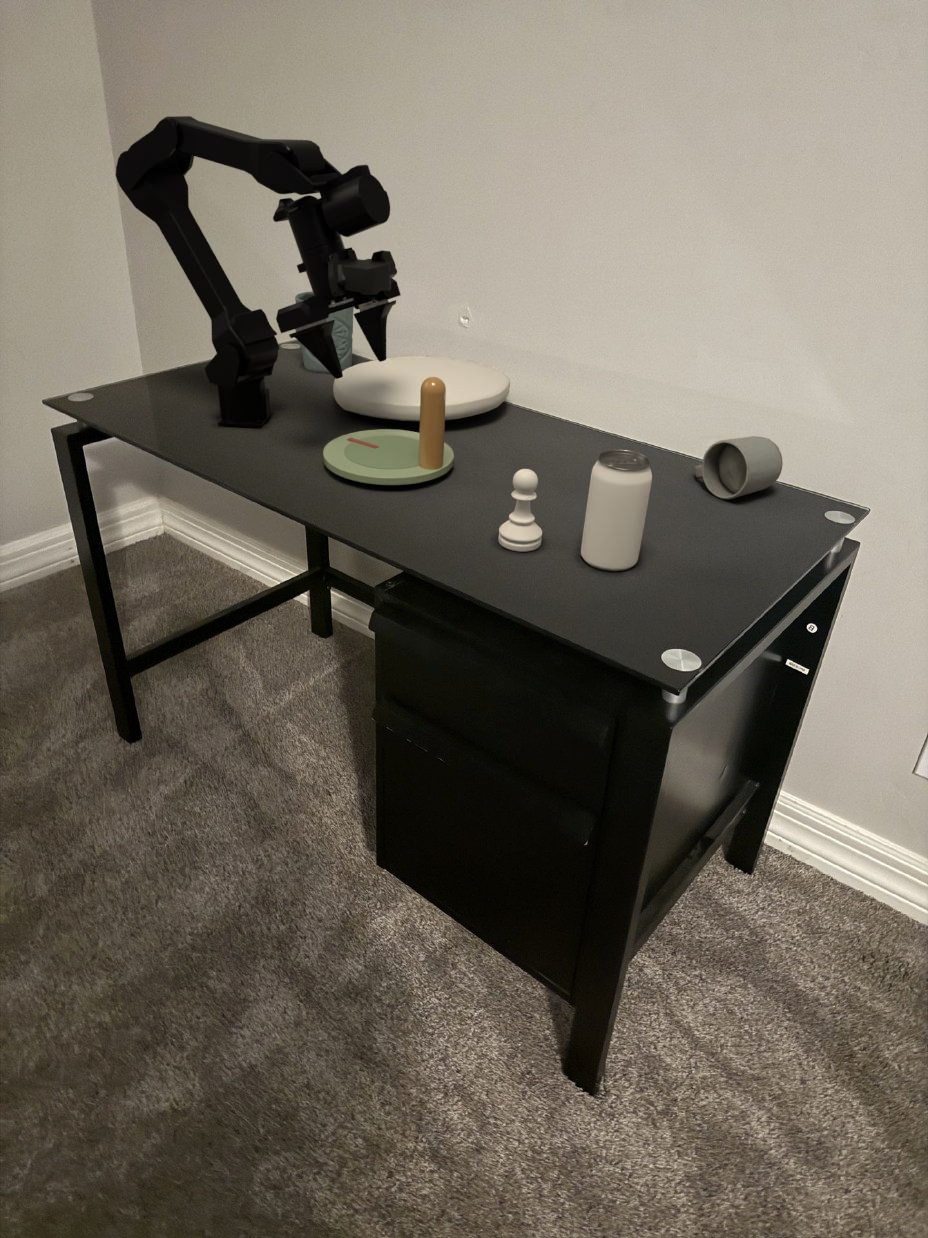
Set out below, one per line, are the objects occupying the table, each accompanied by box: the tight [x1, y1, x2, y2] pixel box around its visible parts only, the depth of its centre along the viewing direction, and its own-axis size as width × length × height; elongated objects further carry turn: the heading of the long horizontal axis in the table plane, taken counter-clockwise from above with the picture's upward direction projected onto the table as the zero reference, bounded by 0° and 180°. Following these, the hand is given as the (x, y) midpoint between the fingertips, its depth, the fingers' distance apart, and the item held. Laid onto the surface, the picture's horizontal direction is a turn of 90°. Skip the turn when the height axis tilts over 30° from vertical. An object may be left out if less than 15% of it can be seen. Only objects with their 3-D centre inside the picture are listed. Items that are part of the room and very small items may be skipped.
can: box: [580, 449, 653, 572], centre depth 96 cm, size 6×6×12 cm
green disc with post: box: [322, 377, 455, 486], centre depth 115 cm, size 18×18×13 cm
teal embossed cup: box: [294, 290, 355, 374], centre depth 153 cm, size 10×10×12 cm
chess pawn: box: [497, 468, 543, 553], centre depth 99 cm, size 5×5×9 cm
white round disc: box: [332, 355, 511, 422], centre depth 139 cm, size 28×6×27 cm
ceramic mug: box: [694, 435, 784, 500], centre depth 116 cm, size 11×8×8 cm
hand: (361, 369), depth 117 cm, fingers open, 9 cm apart
